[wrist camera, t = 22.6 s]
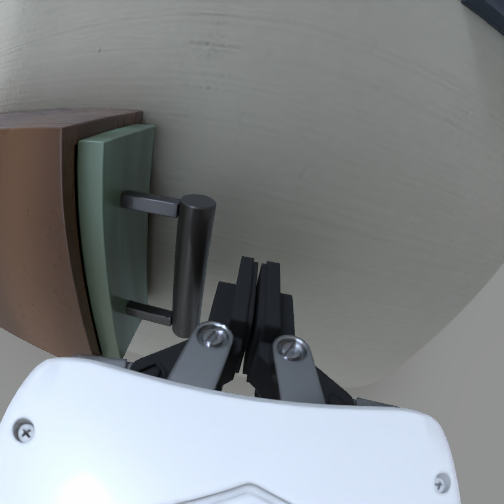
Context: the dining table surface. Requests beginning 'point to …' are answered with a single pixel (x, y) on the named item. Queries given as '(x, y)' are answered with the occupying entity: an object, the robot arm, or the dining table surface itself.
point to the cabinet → (46, 227)
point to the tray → (489, 11)
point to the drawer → (134, 237)
